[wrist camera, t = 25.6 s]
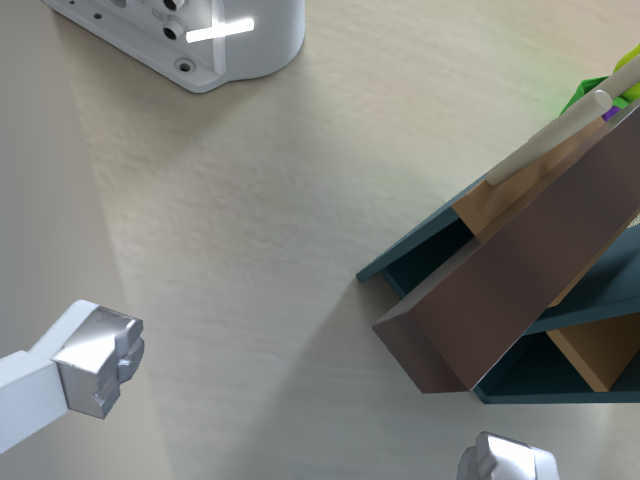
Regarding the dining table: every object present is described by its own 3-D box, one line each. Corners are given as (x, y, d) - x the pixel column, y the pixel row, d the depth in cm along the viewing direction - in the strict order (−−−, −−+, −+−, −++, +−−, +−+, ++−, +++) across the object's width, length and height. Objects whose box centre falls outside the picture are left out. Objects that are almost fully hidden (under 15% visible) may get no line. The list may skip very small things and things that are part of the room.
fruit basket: (573, 172, 49) (679, 110, 39) (537, 100, 51) (628, 23, 41) (645, 154, 53) (757, 94, 43) (608, 88, 55) (707, 15, 45)
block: (422, 394, 19) (470, 391, 16) (370, 326, 20) (407, 311, 17) (655, 155, 29) (715, 124, 26) (617, 111, 29) (671, 75, 26)
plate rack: (469, 421, 37) (995, 448, 13) (353, 273, 38) (643, 57, 15) (551, 328, 42) (1037, 227, 18) (445, 200, 43) (772, -49, 20)
